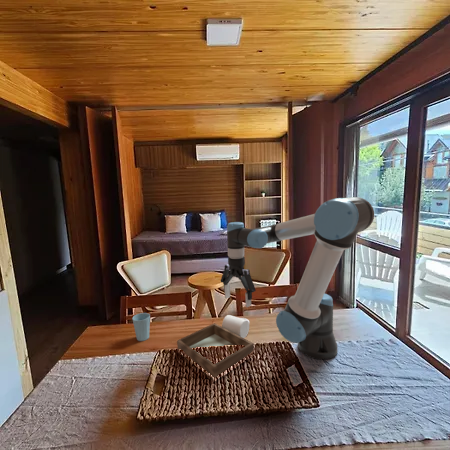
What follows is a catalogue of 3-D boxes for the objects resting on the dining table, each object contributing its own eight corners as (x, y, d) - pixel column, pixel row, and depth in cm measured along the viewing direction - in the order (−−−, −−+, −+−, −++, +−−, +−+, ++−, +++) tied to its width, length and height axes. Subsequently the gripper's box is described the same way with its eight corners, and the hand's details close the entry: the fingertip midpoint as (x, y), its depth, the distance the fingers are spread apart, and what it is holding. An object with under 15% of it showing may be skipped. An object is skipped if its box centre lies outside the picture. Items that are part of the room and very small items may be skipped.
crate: (253, 356, 106) (253, 343, 105) (215, 381, 93) (214, 367, 92) (215, 334, 124) (214, 323, 123) (178, 353, 110) (177, 340, 110)
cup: (153, 339, 121) (151, 318, 120) (135, 344, 118) (133, 322, 117) (150, 332, 128) (148, 311, 127) (133, 336, 125) (131, 315, 124)
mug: (240, 341, 117) (239, 324, 116) (222, 335, 123) (221, 318, 122) (254, 330, 126) (253, 313, 125) (237, 324, 132) (236, 309, 131)
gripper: (263, 259, 113) (264, 307, 116) (224, 251, 132) (225, 292, 135) (251, 263, 108) (252, 313, 111) (212, 253, 127) (214, 296, 130)
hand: (237, 301), depth 123 cm, fingers open, 13 cm apart
